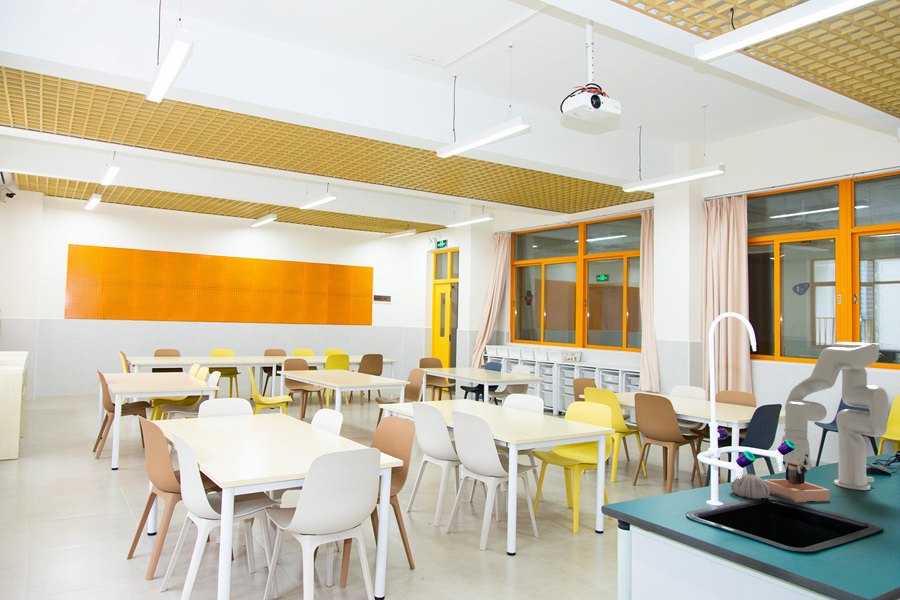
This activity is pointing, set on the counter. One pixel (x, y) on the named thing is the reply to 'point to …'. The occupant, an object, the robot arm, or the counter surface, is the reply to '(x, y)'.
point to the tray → (797, 491)
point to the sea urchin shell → (750, 487)
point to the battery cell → (792, 474)
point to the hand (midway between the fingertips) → (794, 481)
